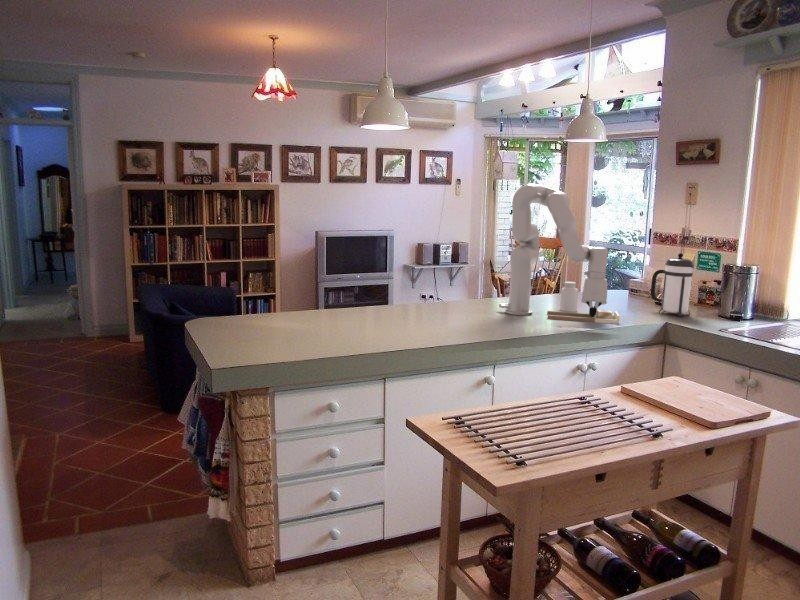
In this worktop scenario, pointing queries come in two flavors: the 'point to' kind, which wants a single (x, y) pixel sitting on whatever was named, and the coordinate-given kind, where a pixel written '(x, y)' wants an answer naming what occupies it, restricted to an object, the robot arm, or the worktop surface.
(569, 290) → the pill bottle
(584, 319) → the lane
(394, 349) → the worktop surface
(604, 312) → the block
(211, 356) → the worktop surface
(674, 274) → the coffee press
